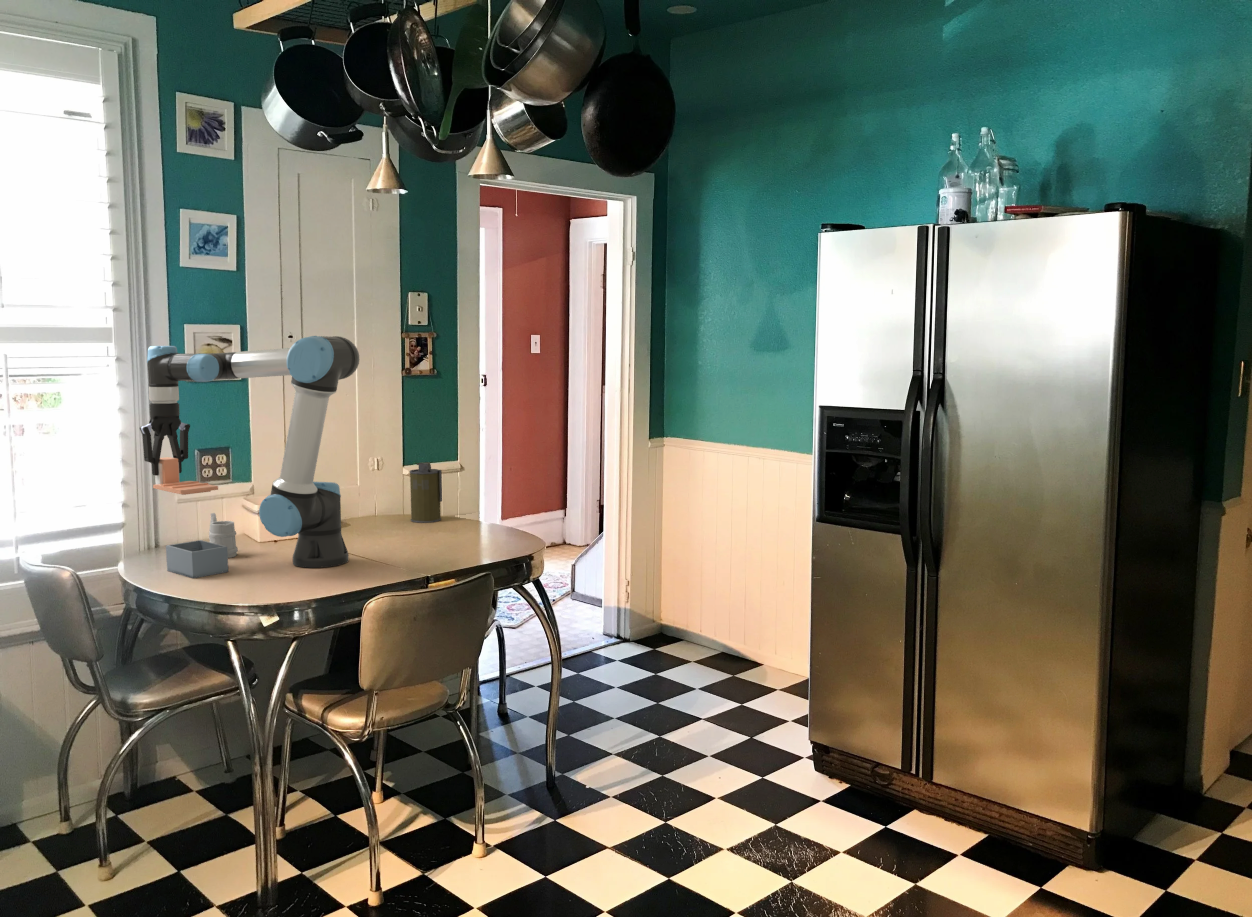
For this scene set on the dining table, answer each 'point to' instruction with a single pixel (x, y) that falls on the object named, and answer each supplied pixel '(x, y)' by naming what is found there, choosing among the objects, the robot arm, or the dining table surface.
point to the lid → (172, 480)
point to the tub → (197, 558)
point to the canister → (425, 494)
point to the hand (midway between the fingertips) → (167, 485)
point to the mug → (223, 534)
